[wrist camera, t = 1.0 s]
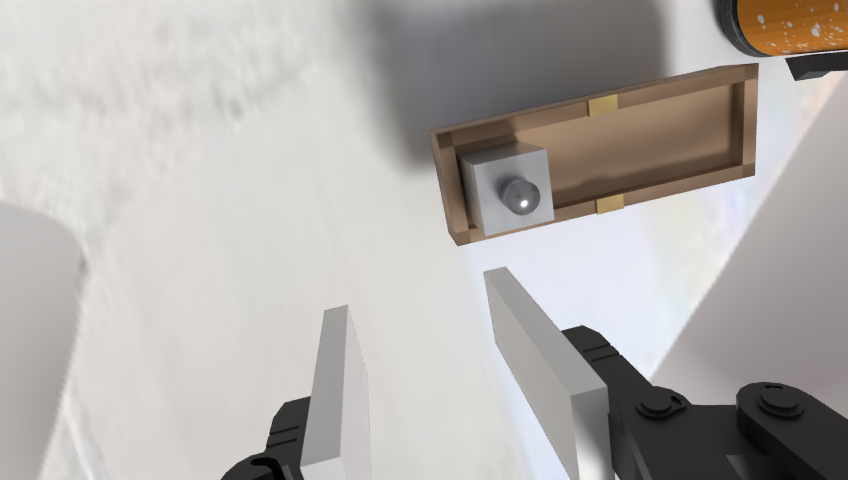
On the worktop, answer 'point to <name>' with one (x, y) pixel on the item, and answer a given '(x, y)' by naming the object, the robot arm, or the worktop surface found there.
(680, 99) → the beam
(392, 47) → the worktop surface
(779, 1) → the canister
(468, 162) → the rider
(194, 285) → the worktop surface
